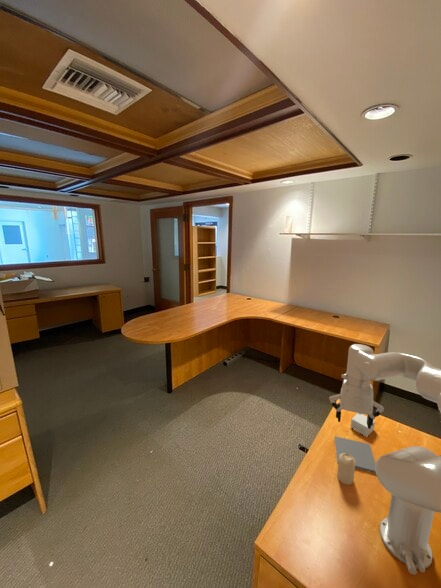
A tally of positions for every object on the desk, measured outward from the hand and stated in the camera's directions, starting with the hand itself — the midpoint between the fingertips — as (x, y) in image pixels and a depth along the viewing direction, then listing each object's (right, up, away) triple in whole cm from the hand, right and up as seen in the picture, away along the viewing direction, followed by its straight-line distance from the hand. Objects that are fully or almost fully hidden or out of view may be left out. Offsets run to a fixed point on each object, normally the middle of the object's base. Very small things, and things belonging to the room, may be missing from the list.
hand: (353, 422), depth 91 cm
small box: (+19, -18, +29) cm, 39 cm away
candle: (-1, -23, +4) cm, 24 cm away
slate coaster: (+8, -21, +14) cm, 27 cm away
